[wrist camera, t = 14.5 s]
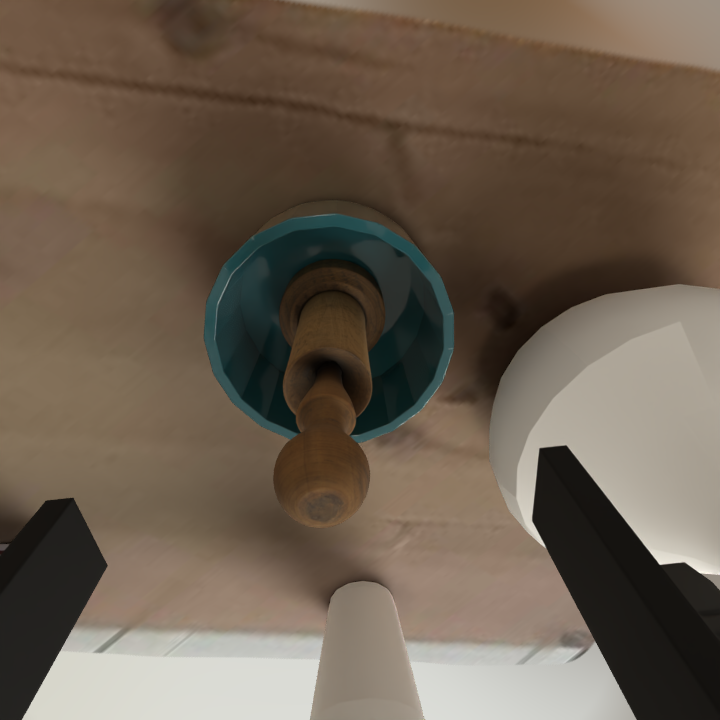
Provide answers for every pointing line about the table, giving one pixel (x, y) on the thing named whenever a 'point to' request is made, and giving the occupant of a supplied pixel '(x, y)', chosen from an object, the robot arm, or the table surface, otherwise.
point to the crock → (267, 286)
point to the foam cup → (364, 659)
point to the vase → (624, 414)
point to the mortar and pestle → (327, 389)
